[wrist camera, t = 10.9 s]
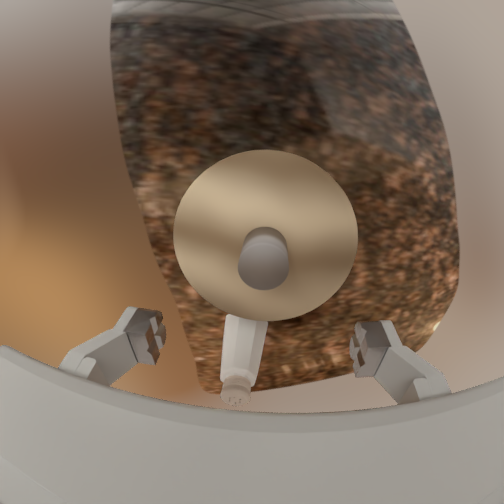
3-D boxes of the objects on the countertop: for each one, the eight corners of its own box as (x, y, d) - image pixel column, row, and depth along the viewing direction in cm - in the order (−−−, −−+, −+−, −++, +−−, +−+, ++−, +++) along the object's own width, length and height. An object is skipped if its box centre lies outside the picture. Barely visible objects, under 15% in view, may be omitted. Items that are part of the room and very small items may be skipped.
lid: (172, 150, 17) (147, 157, 14) (364, 157, 16) (387, 166, 13) (186, 307, 23) (172, 338, 19) (338, 315, 22) (347, 348, 18)
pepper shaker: (277, 320, 32) (276, 397, 22) (252, 346, 34) (244, 419, 24) (238, 299, 31) (222, 375, 21) (215, 327, 33) (196, 400, 23)
